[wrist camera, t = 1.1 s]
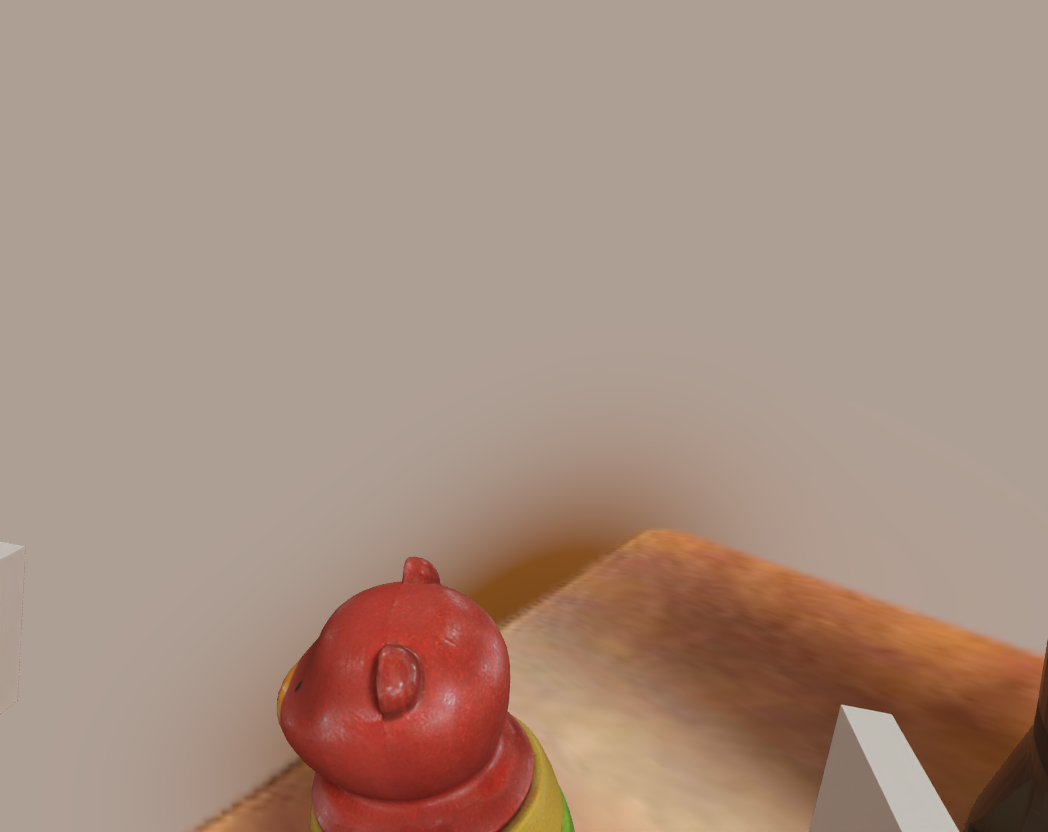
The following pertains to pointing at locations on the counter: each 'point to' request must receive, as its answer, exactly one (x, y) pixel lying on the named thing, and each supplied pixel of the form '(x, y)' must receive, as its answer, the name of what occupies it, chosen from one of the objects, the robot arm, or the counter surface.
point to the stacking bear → (416, 719)
